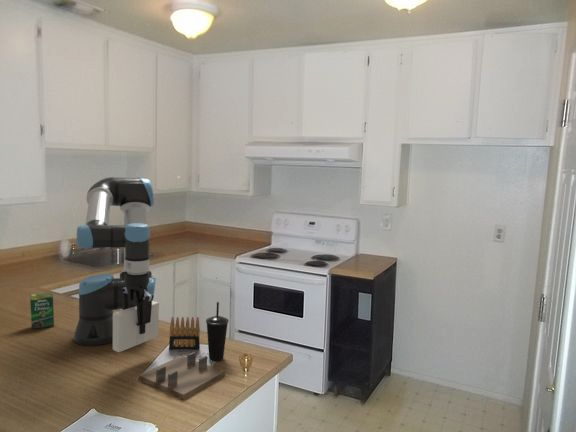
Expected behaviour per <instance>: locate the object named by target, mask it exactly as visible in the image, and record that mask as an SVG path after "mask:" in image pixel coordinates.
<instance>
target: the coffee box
mask: <svg viewBox="0 0 576 432" xmlns="http://www.w3.org/2000/svg"><path fill="white" fill-rule="evenodd" d="M29 300H30V301H29V304H30V322H31V330H33V329H39V328H40V329H41V328H42V329H43V328H50V327H55V312H54V309H55V308H54V292H46V293H36V294H35V293H33V294H30V295H29Z"/></svg>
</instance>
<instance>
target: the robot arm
mask: <svg viewBox="0 0 576 432" xmlns="http://www.w3.org/2000/svg"><path fill="white" fill-rule="evenodd" d="M153 189H154V188H153V184H152V182H151V180H150V179H149V178H142V177H114V176H112V177H106V178H102V179H100V180H99V181H97V182H95V183H94V184H92V186H91V187H90V188H89V190H88V192H87V195H86V202H87V204H88V205H87V206H88V207H87V210H86V211H87V212H86V218H85V224H84V225H83V224H81V225H79V226H77V228H76V245H77V247H78V248H79V249H89V250H90V249H107V248H108V249H112V248H113V249H115V248H118V249H119V248H121V249H123V270H122V271H121V272H119V278H118V277H117V278H115V277H114V275H113V274H111V273H99V274H94V275H93V274H92V275H90V276H87V277H84V278H83V279H81V281H80V282H79V283H78V285H79V286H78V288H79V289H78V293H77V294H78V295H79V296H78V315H79V316H78V317H79V318H78V321H77V324H76V328H75V331H74V333H73V341H74V343H76V344H77V345H81V346H91V347H93V346H100V345H101V346H102V345H105V344H110V343H111V342H112V343H113V313H114V311H122V310H125V309H128V308H131V307H135V306H137V316H138V323H137V324H136V344H138V345H140V344H139V343H141V344H143V343H145V342H144V333H145V324H147V323H149V322H150V321H151V308H152V301H154V296H155V291H156V289H155V288H156V277H155V276H152V274H153V273H152V271H151V270H150V244H151V243H150V241H151V240H150V239H151V238H150V237H151V232H150V231H151V230H150V225H149V224H147V218H148V217H147V213H149V212H150V210H151V207H153V206H154V204H155V200H154V199H155V198H154V190H153ZM111 206H112V207H113V206H115V207H119V209H120V212H122V213H123V224H119V225H118V224H114V225H113V224H111V225H110V214H111V212H110V211H111ZM142 342H143V343H142Z"/></svg>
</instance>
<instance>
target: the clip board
mask: <svg viewBox="0 0 576 432" xmlns="http://www.w3.org/2000/svg"><path fill="white" fill-rule="evenodd" d="M196 354H197V353H196V352H195V351H192V352H189V353H188V354H187V355H186V356H184V355H179V356H177V357H175V358H173V359H171V360H169V361H166V362H164V363H162V364H160V365H158V366H156V367H154V368H151V369H149V370H147V371H144V372H143V373H141V374H139V375H138V381H140V382H143V383H145V384H147V385H149V386H152V387H153V388H157V389H158V390H161V391H163V392H165V393H167V394H170V395H173V396H175V397H176V398H179V399H182V400H185V399H187V398H189V397H190V396H193V395H194V394H195V393H198V392H199V391H201V390H202V389H203V390H204V388H206V387H208V386H209V385H211V384H213V383H215V382H216V381H218V380H219V379H222V378H223V377H225V375H226V372H225V370H222V369H219V368H217V367H214V366H211V365H208V356H207V355H204V356H202V357H200V358H198V361H197V359H196V357H197V355H196Z"/></svg>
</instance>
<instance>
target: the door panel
mask: <svg viewBox="0 0 576 432" xmlns="http://www.w3.org/2000/svg"><path fill="white" fill-rule="evenodd" d="M159 312H160V303H159V302H158V301H154V300H153V301H152V308H151V321H150V322H149V323H147V324H145V333H144V342H142V343H139V344H136V324H137V323H138V316H137V306H135V307H131V308H128V309H125V310H118V311H116V312H113V341H112V351H115V352H117V353H121V352H123V351H125V350H128V349H130V348H133V347H136V346H138V345H141V344H143V343H145V342H147V341H151V340H153V339H155V338H157V337H159V322H160V321H159V319H160V318H159Z"/></svg>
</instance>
